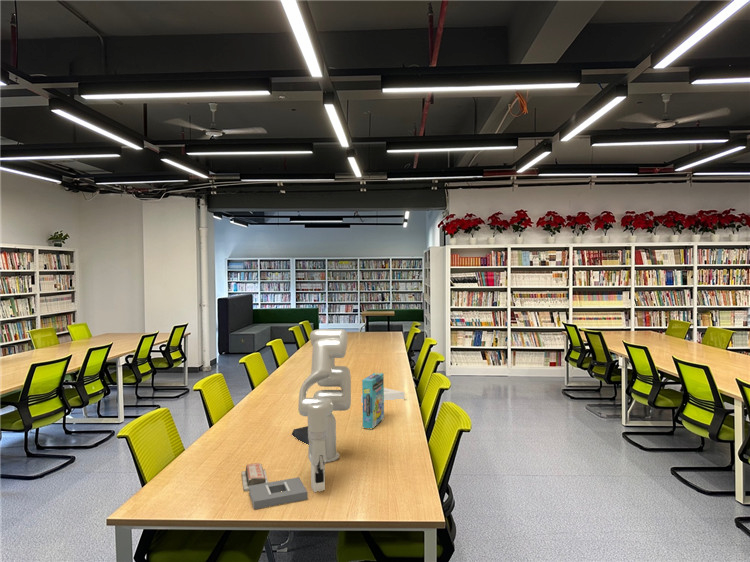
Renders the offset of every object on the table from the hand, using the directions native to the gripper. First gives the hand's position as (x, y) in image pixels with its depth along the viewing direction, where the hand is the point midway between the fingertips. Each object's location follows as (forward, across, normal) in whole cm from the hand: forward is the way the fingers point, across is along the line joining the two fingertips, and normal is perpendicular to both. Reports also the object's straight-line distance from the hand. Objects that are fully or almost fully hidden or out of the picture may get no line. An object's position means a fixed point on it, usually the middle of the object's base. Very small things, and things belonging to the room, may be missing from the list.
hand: (317, 479), depth 191 cm
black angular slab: (+5, -59, +12) cm, 60 cm away
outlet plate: (+4, 0, -16) cm, 16 cm away
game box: (+4, -67, +51) cm, 84 cm away
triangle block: (+5, -112, +70) cm, 132 cm away
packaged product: (+5, -18, -22) cm, 29 cm away
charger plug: (+4, 0, 0) cm, 4 cm away
